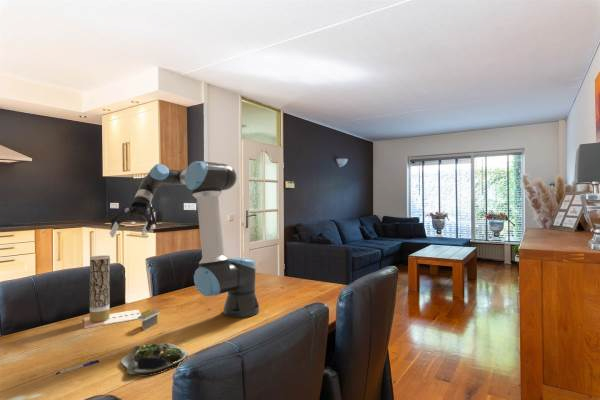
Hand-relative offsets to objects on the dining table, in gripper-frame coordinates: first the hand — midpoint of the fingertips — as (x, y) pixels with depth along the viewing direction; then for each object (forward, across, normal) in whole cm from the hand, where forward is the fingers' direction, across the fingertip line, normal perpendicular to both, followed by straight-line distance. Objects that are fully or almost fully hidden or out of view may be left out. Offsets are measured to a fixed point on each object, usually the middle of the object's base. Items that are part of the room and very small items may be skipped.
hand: (127, 235), depth 148 cm
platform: (+38, -17, -10) cm, 42 cm away
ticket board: (+31, 0, -16) cm, 34 cm away
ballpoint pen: (+60, -10, +13) cm, 62 cm away
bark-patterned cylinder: (+32, +4, -14) cm, 35 cm away
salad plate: (+58, -30, +11) cm, 66 cm away
